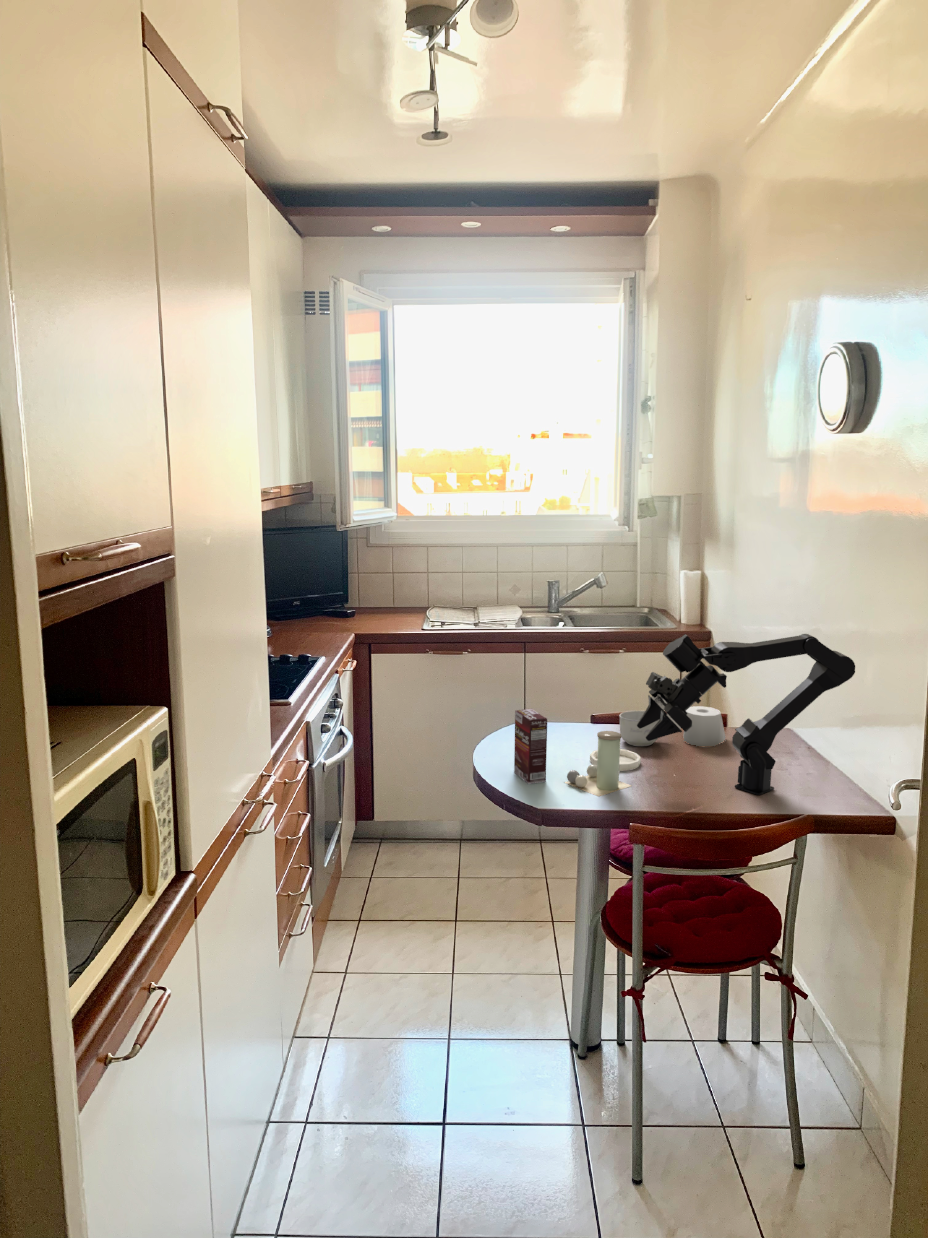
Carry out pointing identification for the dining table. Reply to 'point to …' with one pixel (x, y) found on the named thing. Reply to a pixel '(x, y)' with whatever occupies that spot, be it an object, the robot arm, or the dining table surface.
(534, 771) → the supplement box
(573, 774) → the pebble
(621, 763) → the round white tray
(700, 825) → the dining table surface
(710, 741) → the toilet tissue
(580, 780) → the pebble
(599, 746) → the pale green lidded canister
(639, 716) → the teacup
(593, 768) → the glossy white ball
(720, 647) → the robot arm
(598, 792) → the board
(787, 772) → the dining table surface
